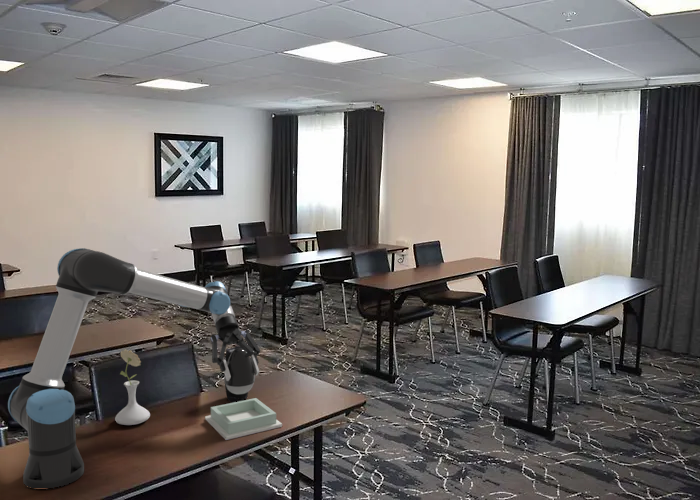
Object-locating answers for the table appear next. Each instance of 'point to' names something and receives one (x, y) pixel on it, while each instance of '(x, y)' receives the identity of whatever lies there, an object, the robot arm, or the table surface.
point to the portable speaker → (230, 396)
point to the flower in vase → (131, 395)
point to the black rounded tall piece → (240, 372)
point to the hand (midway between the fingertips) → (243, 376)
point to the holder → (242, 418)
